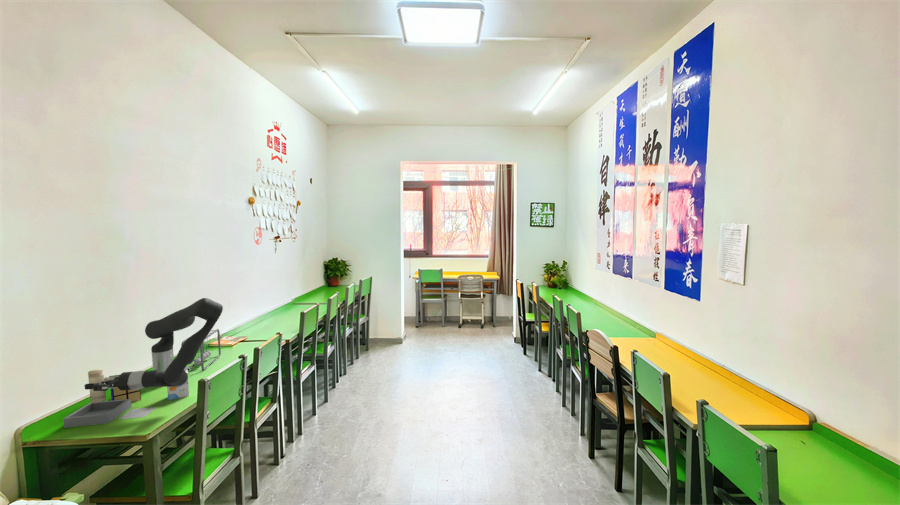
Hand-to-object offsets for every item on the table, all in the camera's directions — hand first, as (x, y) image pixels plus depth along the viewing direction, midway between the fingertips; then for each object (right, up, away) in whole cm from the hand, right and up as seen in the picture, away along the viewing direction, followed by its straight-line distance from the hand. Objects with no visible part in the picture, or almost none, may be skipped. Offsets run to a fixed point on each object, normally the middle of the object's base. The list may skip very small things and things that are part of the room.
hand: (90, 384), depth 176 cm
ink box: (+24, -13, +21) cm, 34 cm away
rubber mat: (+18, -14, +4) cm, 23 cm away
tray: (+3, -15, +1) cm, 15 cm away
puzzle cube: (+1, -14, +18) cm, 23 cm away
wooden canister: (+3, -7, +1) cm, 8 cm away
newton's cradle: (+6, -11, +71) cm, 72 cm away
